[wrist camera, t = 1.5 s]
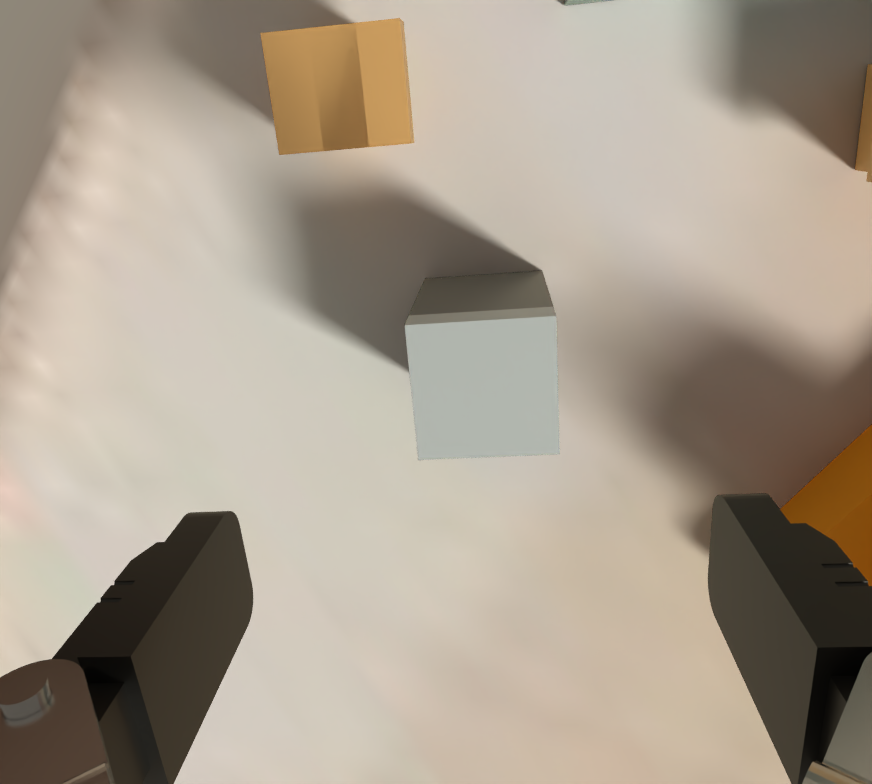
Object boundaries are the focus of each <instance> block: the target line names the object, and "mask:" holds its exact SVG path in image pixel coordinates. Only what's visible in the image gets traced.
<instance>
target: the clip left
mask: <svg viewBox="0 0 872 784" xmlns="http://www.w3.org/2000/svg"><path fill="white" fill-rule="evenodd" d="M260 34H261V40H262V47H263V53H264V59H265V66H266V72H267V79H268V85H269V92H270V98H271V105H272V111H273V117H274V124H275V130H276V137H277V143H278V150H279V155H284V154H295V153H307V152H318V151H330V150H341V149H352V148H364V147H375V146H386V145H398V144H409V143H414V133H413V122H412V111H411V100H410V89H409V77H408V66H407V55H406V44H405V33H404V22H403V21H402V20H401V19H400V18H397V19H388V20H378V21H369V22H359V23H350V24H341V25H331V26H322V27H313V28H303V29H294V30H285V31H275V32H266V33H260Z"/></svg>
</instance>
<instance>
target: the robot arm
mask: <svg viewBox="0 0 872 784" xmlns="http://www.w3.org/2000/svg"><path fill="white" fill-rule="evenodd" d="M708 589H709V597H710V602H711V606H712V610H713V613H714V616H715V618H716V620H717V622H718V625H719V627H720V629H721V631H722V633H723V636H724V638H725V640H726V642H727V644H728V646H729V649H730V651H731V653H732V655H733V657H734V659H735V662H736V664H737V666H738V668H739V670H740V673H741V675H742V677H743V679H744V681H745V683H746V686H747V688H748V690H749V692H750V694H751V696H752V699H753V701H754V703H755V705H756V707H757V710H758V712H759V714H760V716H761V718H762V720H763V723H764V725H765V727H766V729H767V731H768V733H769V736H770V738H771V740H772V742H773V744H774V747H775V749H776V751H777V753H778V755H779V757H780V760H781V762H782V764H783V766H784V768H785V770H786V773H787V775H788V777H789V779H790V781H791V784H872V586H869V585H868V581H867V579H866V578H865V577H864V576H863V575H862V573H861V572H860V571H859V570H858V569H857V567H853V563H852V561H851V560H850V559H849V558H848V556H847V555H846V554H845V553H844V552H843V550H842V549H841V548H840V547H839V546H838V544H837V543H836V542H835V541H834V540H832V539H830V538H829V537H827V536H826V535H824V534H822V533H821V532H819V531H818V530H816V529H814V528H813V527H811V526H810V525H808V524H806V523H792V524H791V523H790V522H789V521H788V519H787V518H786V517H785V515H784V514H783V513H782V511H781V510H780V509H779V507H778V506H777V505H776V503H775V502H774V501H773V500H772V498H771V497H770V496H769V495H768V494H766V493H759V494H731V495H717V496H716V498H715V500H714V504H713V511H712V525H711V539H710V554H709V568H708ZM252 608H253V588H252V582H251V578H250V573H249V568H248V563H247V558H246V553H245V549H244V544H243V539H242V534H241V529H240V525H239V521H238V518H237V516H236V515H235V513H233V512H232V511H221V512H193V513H188V514H186V515H185V516H184V517H183V519H182V520H181V521H180V523H179V524H178V525H177V527H176V528H175V529H174V530H173V532H172V533H171V534H170V536H169V537H168V538H167V540H166V541H165V542H157V543H155V544H154V545H153V546H151V547H150V548H148V549H147V550H145V551H144V552H143V553H141V554H140V555H138V556H137V557H135V558H134V559H133V560H131V561H130V563H129V564H128V565H127V566H126V567H125V569H124V570H123V571H122V572H121V574H120V575H119V576H118V577H117V579H116V580H115V584H114V585H111V586H110V587H109V589H108V590H107V591H106V592H105V594H104V595H103V596H102V597H101V602H100V603H96V605H95V606H94V607H93V608H92V610H91V611H90V612H89V613H88V615H87V616H86V617H85V618H84V620H83V621H82V622H81V623H80V625H79V626H78V627H77V628H76V630H75V631H74V632H73V633H72V635H71V636H70V637H69V638H68V639H67V641H66V642H65V643H64V644H63V646H62V647H61V648H60V649H59V651H58V652H57V653H56V654H55V656H54V657H53V658H52V659H49V660H43V661H38V662H35V663H31V664H28V665H25V666H23V667H20V668H18V669H16V670H13V671H11V672H9V673H8V674H6V675H4V676H2V677H0V784H174V781H175V779H176V777H177V775H178V773H179V771H180V769H181V767H182V764H183V762H184V760H185V758H186V756H187V754H188V752H189V750H190V748H191V745H192V743H193V741H194V739H195V737H196V735H197V733H198V731H199V728H200V726H201V724H202V722H203V720H204V718H205V716H206V714H207V711H208V709H209V707H210V705H211V703H212V701H213V699H214V697H215V694H216V692H217V690H218V688H219V686H220V684H221V682H222V680H223V677H224V675H225V673H226V671H227V669H228V667H229V665H230V663H231V660H232V658H233V656H234V654H235V652H236V650H237V648H238V646H239V644H240V641H241V639H242V637H243V635H244V633H245V631H246V629H247V627H248V624H249V622H250V618H251V614H252Z"/></svg>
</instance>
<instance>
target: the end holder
mask: <svg viewBox="0 0 872 784" xmlns="http://www.w3.org/2000/svg"><path fill="white" fill-rule="evenodd" d="M602 1H612V0H564V2H565V5H574V4H584V3H593V2H602Z"/></svg>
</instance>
